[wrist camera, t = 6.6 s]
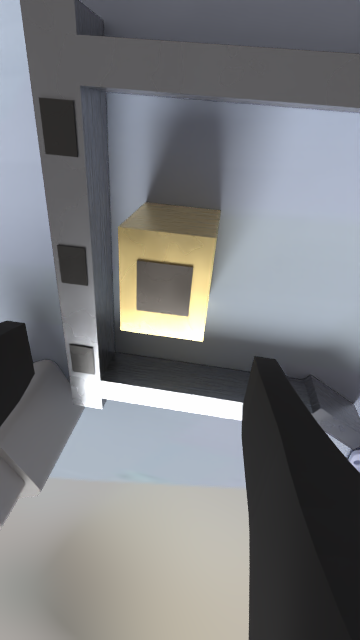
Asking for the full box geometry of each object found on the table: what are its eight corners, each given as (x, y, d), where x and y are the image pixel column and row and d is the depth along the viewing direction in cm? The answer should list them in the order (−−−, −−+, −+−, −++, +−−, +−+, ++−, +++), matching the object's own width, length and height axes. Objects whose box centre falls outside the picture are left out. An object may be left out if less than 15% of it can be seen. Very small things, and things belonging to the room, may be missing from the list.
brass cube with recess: (209, 295, 20) (202, 342, 15) (144, 286, 20) (120, 331, 16) (220, 210, 17) (216, 238, 13) (145, 201, 18) (117, 227, 13)
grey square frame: (348, 415, 23) (363, 453, 20) (89, 375, 24) (72, 405, 22) (528, 46, 12) (608, 25, 10) (58, 16, 14) (17, -9, 11)
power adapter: (52, 357, 24) (-82, 529, 14) (88, 409, 26) (-3, 589, 16) (19, 366, 25) (-129, 533, 15) (57, 416, 27) (-48, 590, 17)
